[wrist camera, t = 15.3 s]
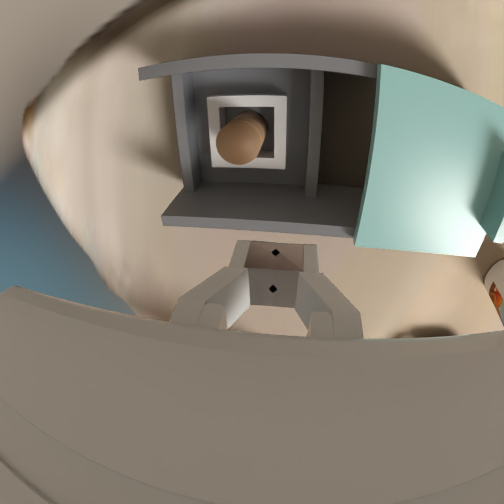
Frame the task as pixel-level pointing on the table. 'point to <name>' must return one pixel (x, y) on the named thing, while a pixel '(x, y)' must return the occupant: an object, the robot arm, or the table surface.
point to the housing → (272, 150)
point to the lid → (432, 168)
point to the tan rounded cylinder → (242, 138)
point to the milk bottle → (496, 287)
